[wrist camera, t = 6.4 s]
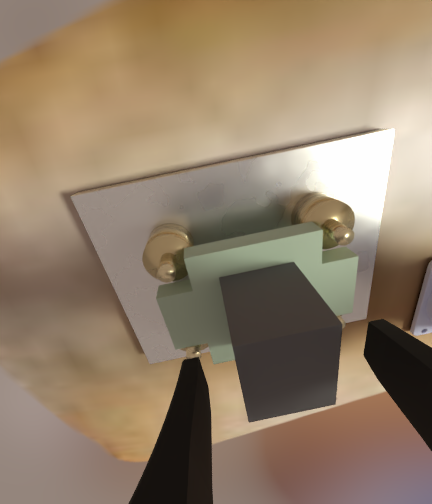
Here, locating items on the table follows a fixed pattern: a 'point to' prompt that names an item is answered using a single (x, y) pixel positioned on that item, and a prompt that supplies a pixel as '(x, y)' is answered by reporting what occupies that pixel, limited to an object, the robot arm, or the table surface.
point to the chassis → (235, 219)
